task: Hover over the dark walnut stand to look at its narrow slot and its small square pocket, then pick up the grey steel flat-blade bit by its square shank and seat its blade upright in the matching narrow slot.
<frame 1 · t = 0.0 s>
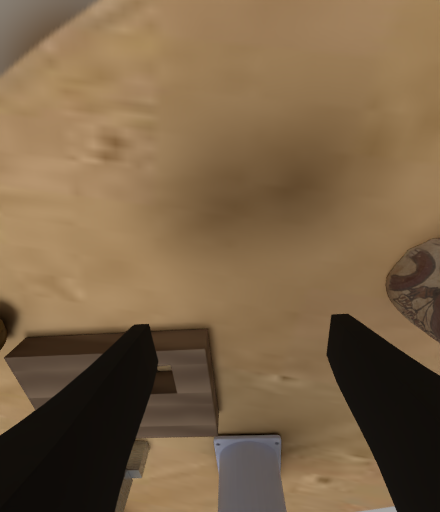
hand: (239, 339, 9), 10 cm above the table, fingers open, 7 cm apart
figurine: (429, 277, 19), on the table
blade bit: (129, 445, 30), on the table
stand: (129, 377, 25), on the table
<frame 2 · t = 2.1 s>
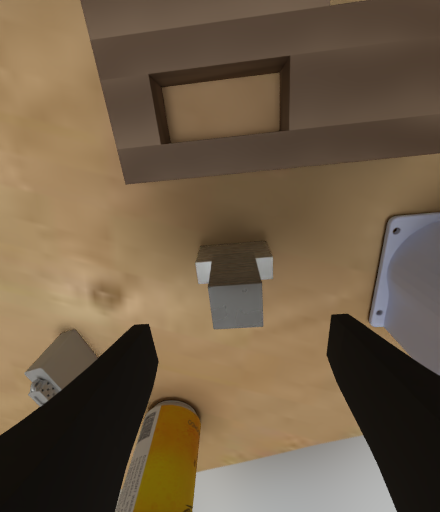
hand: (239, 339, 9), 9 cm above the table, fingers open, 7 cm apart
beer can: (174, 413, 26), on the table
blade bit: (233, 253, 18), on the table
lighter: (89, 356, 23), on the table
stand: (271, 53, 13), on the table
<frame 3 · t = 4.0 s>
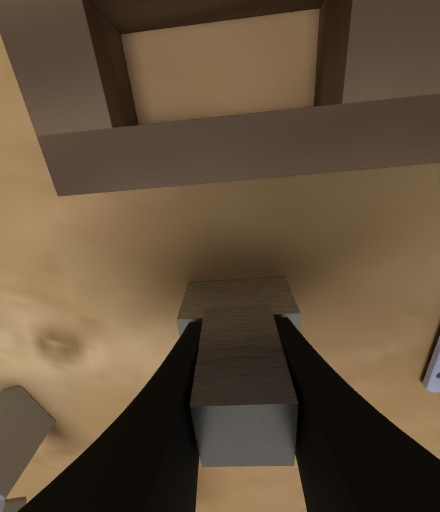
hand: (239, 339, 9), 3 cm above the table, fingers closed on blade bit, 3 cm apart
blade bit: (236, 292, 13), on the table, touching gripper
lighter: (44, 416, 18), on the table
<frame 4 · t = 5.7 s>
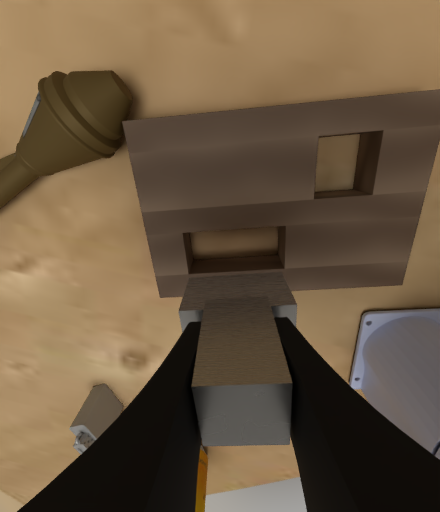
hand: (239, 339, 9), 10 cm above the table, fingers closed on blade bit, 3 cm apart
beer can: (185, 448, 31), on the table
blade bit: (235, 287, 13), point 7 cm above the table, touching gripper
lighter: (115, 403, 28), on the table
stand: (272, 205, 18), on the table
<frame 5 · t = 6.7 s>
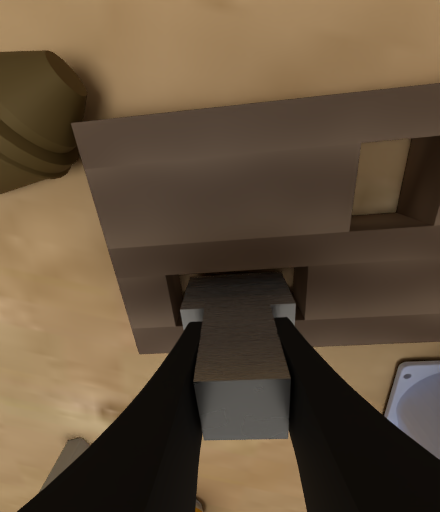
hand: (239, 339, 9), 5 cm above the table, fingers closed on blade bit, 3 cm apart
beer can: (179, 503, 26), on the table
blade bit: (235, 286, 13), point 1 cm above the table, touching gripper
lighter: (96, 457, 23), on the table
stand: (286, 233, 13), on the table
when the fingers open (4 cm above the table, at t = 7.6 s): blade bit stays where it is, resting in stand.
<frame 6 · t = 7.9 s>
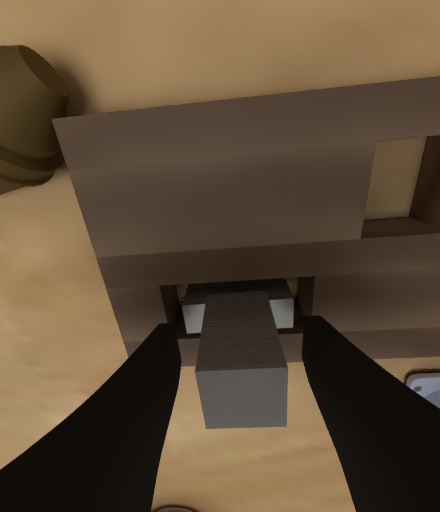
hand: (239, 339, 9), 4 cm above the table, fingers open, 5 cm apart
blade bit: (236, 283, 14), resting in stand
stand: (290, 238, 12), on the table
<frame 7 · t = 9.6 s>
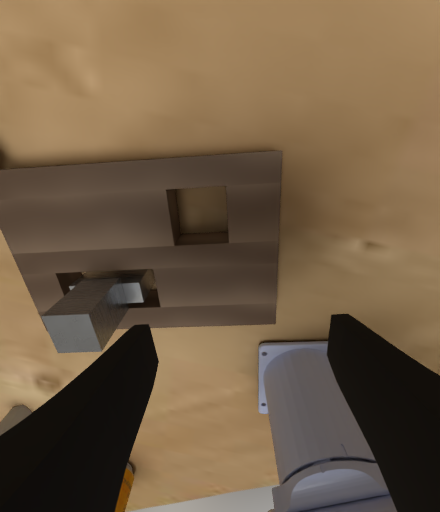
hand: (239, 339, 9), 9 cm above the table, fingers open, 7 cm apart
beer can: (114, 465, 31), on the table
blade bit: (123, 274, 19), resting in stand
lighter: (38, 423, 28), on the table
stand: (154, 244, 18), on the table
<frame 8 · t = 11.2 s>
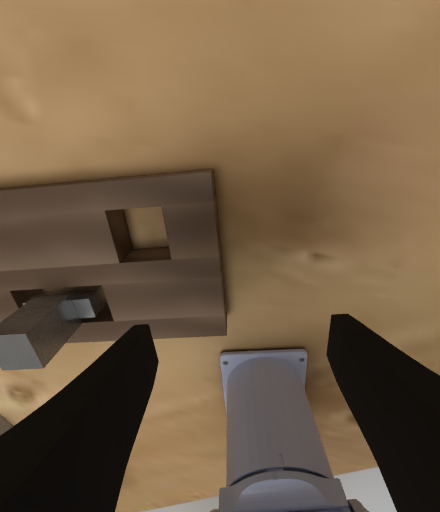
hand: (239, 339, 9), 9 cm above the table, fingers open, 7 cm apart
blade bit: (82, 288, 20), resting in stand
lighter: (16, 432, 29), on the table
stand: (108, 259, 19), on the table
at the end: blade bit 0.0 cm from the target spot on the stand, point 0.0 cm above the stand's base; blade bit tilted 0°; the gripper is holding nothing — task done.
